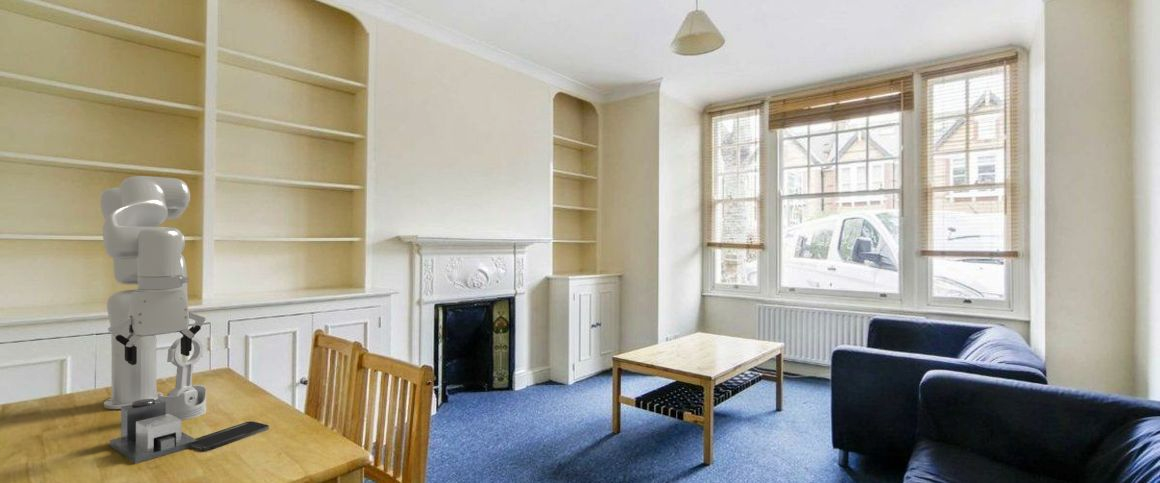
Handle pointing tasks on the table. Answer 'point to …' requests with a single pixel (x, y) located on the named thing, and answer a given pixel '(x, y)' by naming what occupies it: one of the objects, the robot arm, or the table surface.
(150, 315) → the robot arm
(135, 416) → the coupler
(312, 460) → the table surface
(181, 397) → the engine component
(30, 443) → the table surface
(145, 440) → the block
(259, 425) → the phone
